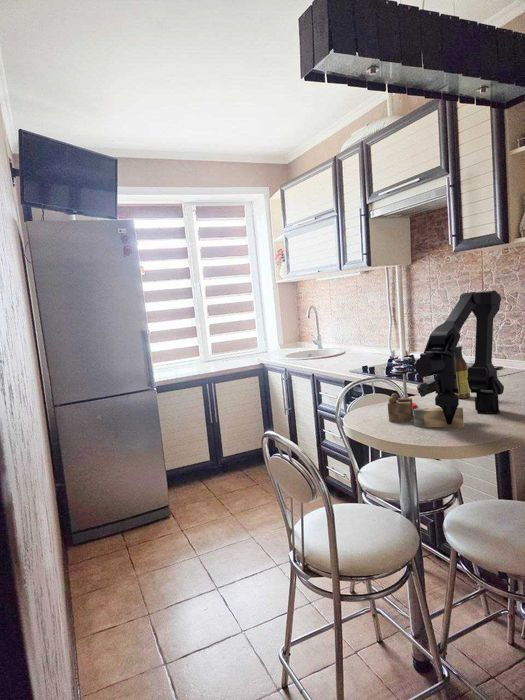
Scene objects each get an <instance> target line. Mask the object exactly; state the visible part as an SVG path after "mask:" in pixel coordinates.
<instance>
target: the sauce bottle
mask: <svg viewBox="0 0 525 700" xmlns="http://www.w3.org/2000/svg"><path fill="white" fill-rule="evenodd" d="M454 349H455V350H456V351H458V352H459V354H458V355H455V365H456V379H457V386H458V392H459V394H457V393H455V394H456V395H458V398H459V399H460V398H461V399H468V398H470V396H471V391H470V388H469V385H468V379H467V377H468V366H467V361H466V360H465V358H464V356H463V346H462V345H457V346H456V347H455V348H454Z"/></svg>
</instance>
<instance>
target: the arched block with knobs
mask: <svg viewBox="0 0 525 700" xmlns="http://www.w3.org/2000/svg"><path fill="white" fill-rule="evenodd" d="M413 403H414V402H413V398H412V397H408V398H403V397H399V394H397V393H394V392H393V393H392V394H391V396H390V397H389V398H388V402H387V411H388V412H387V413H388V422H412V419H413V418H414V409H413Z"/></svg>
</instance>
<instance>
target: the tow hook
mask: <svg viewBox="0 0 525 700" xmlns="http://www.w3.org/2000/svg"><path fill="white" fill-rule="evenodd" d="M402 378H403V379H402V386H403V387H402V389H403V396H402V398H409V395H408V388H407V387H408V386H407V379H406V374H405V373H403V374H402ZM412 403H413V410H414V409H418V408H417V407H418V403H415V402H412Z"/></svg>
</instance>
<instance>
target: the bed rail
mask: <svg viewBox="0 0 525 700" xmlns="http://www.w3.org/2000/svg"><path fill="white" fill-rule="evenodd" d="M413 418H414V419H413V420H414V426H415V427H424V428H427V427H428V428H464V427H465V421H464V408H463V407H457V410H456V412H455V415H454V418H453V420H452V423H451V425H448V424H447V422H446V419H445V416H444V412H443V409H442V408H441V407H424V408H416V409H413Z"/></svg>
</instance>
